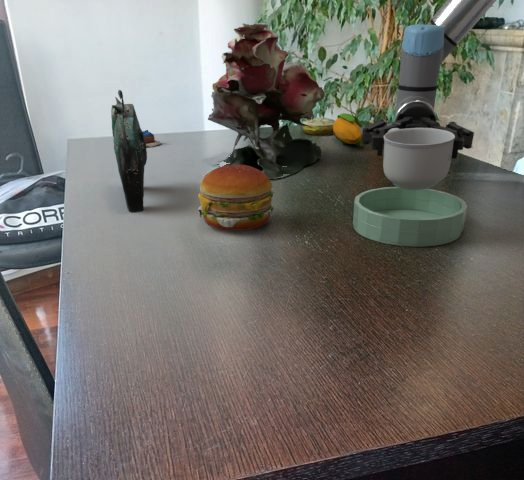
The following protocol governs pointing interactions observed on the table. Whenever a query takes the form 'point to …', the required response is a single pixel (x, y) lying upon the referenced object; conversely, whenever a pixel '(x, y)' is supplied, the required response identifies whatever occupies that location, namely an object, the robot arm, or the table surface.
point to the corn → (348, 129)
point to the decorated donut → (319, 126)
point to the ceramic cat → (129, 152)
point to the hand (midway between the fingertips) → (417, 148)
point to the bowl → (409, 216)
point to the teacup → (417, 156)
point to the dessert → (150, 139)
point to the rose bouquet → (265, 102)
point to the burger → (236, 198)
